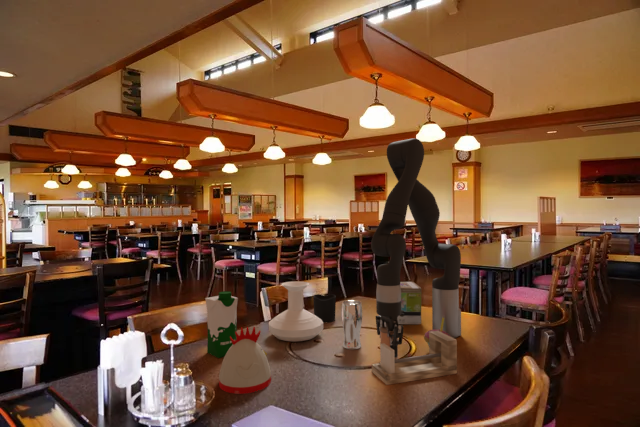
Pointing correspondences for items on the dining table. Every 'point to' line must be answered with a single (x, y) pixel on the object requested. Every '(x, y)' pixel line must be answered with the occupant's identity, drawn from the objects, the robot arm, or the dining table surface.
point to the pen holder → (325, 307)
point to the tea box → (410, 303)
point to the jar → (385, 337)
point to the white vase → (295, 317)
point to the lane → (424, 362)
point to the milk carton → (221, 323)
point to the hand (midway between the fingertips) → (389, 353)
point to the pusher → (389, 359)
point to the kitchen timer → (245, 365)
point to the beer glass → (351, 323)
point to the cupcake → (426, 336)
